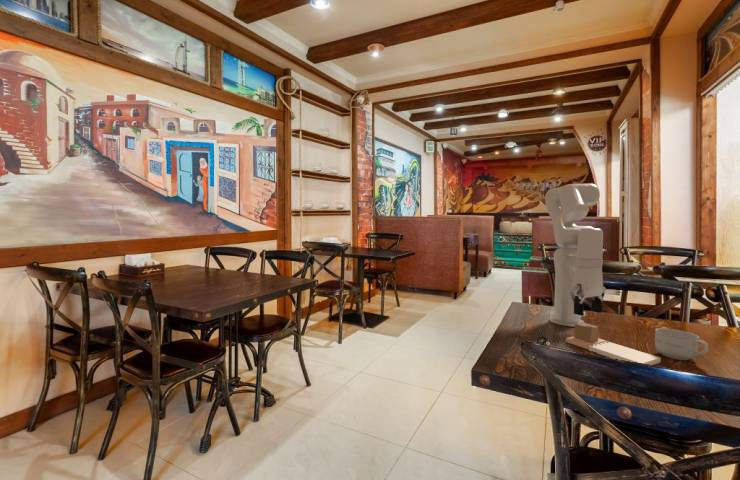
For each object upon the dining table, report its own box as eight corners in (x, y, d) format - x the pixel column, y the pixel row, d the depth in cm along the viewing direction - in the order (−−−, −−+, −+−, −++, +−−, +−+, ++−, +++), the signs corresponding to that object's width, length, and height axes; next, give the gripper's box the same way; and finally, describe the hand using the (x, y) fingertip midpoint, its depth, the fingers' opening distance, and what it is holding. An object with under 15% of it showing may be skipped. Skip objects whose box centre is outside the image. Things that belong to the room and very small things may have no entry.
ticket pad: (607, 345, 126) (607, 340, 126) (660, 362, 111) (660, 357, 111) (588, 350, 121) (588, 345, 121) (641, 368, 107) (641, 363, 107)
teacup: (645, 351, 121) (646, 327, 120) (675, 349, 122) (676, 326, 121) (685, 368, 107) (686, 342, 106) (718, 367, 108) (720, 340, 107)
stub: (584, 337, 133) (584, 320, 133) (606, 344, 126) (607, 326, 125) (565, 341, 129) (566, 324, 128) (587, 349, 122) (588, 330, 121)
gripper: (594, 262, 132) (592, 308, 133) (562, 263, 125) (561, 313, 125) (615, 264, 126) (614, 313, 126) (583, 266, 118) (581, 318, 119)
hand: (587, 313), depth 126 cm, fingers open, 9 cm apart
